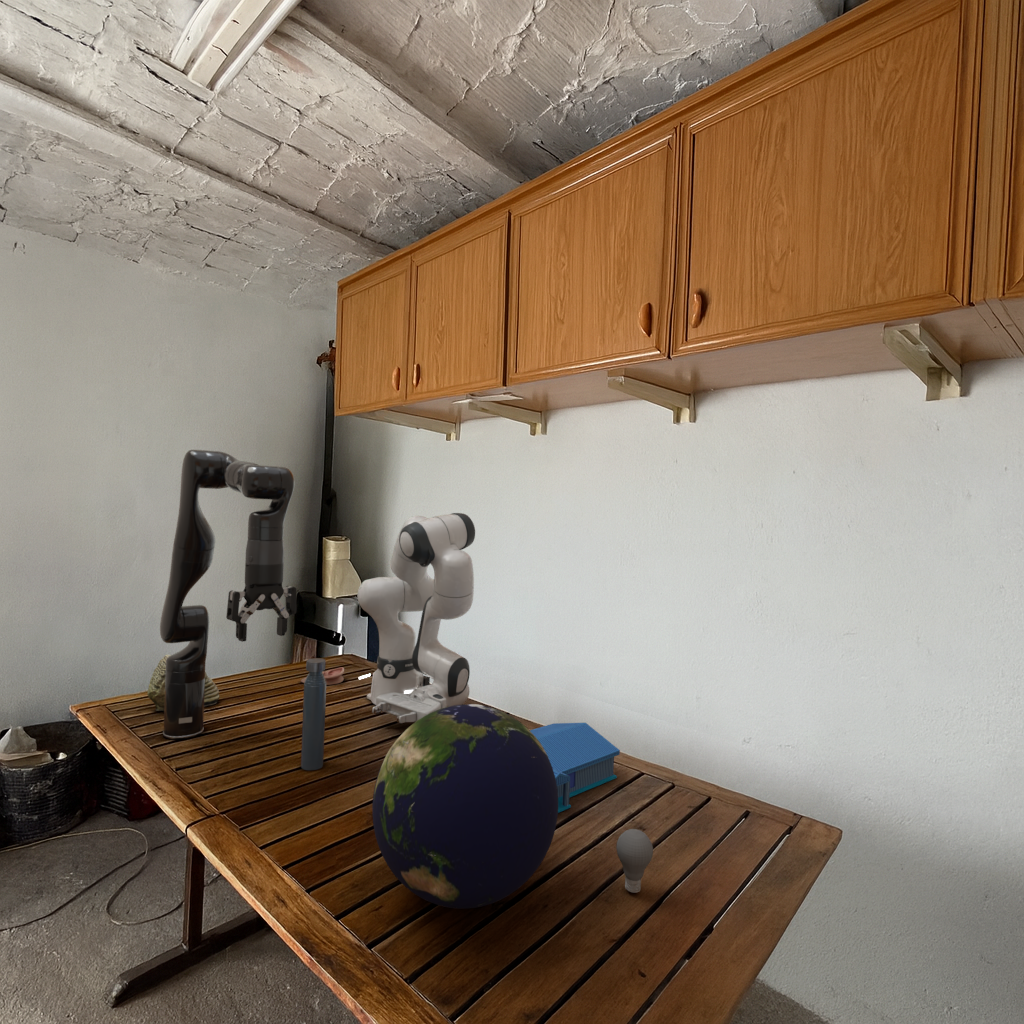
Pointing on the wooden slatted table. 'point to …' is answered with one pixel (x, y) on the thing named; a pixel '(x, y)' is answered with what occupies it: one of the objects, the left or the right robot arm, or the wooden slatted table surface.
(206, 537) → the left robot arm
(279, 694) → the wooden slatted table surface
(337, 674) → the anatomical model
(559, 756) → the model building
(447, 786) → the globe
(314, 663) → the cap
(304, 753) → the bottle
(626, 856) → the light bulb
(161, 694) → the fossil
